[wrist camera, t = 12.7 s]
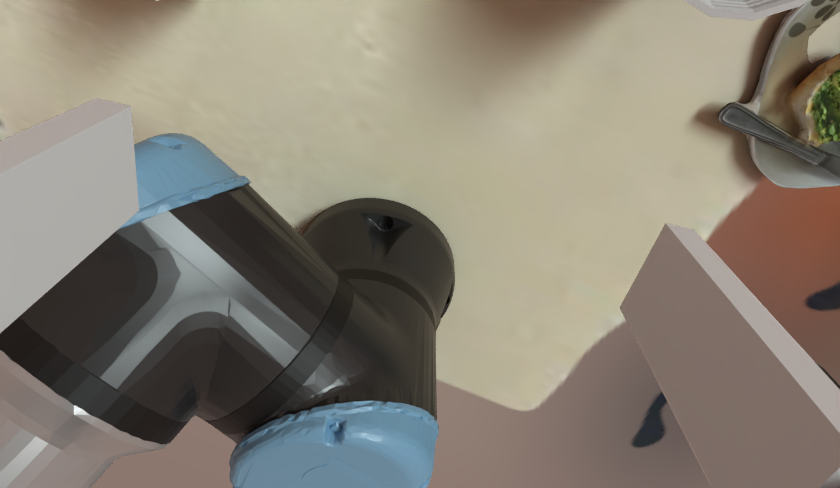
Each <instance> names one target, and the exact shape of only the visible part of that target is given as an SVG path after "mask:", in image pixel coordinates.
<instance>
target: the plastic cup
mask: <svg viewBox="0 0 840 488" xmlns="http://www.w3.org/2000/svg"><path fill="white" fill-rule="evenodd" d="M684 1H686V2H687V3H689V4H691V5H692V6H694V7H696V8H697V9H699V10H700V11H702V12H704V13H705V14H707V15H708V16H710V17H720V18H731V19H742V20H756V19H760V18H763V17H766V16H770V15H773V14H776V13H780V12H783V11H786V10H790V9H793V8H796V7H800V6H801V5H803V4H804V3H806V2H807V1H809V0H684Z"/></svg>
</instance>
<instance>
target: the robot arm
mask: <svg viewBox="0 0 840 488" xmlns="http://www.w3.org/2000/svg"><path fill="white" fill-rule="evenodd" d="M249 183H251V182H250V181H249V179H248V178H247V177H245V176H239V175H238V174H237V173H236V172H235V171H233V170H232V169H231V168H230V167H229V166H228V165H227V164H225V163H224V162H223V161H222V160H221V159H220V158H218V157H217V156H216V155H215V154H214V153H213V152H212V151H211V150H209V149H208V148H207V147H206V146H205V145H204V144H203V143H201V142H200V141H198V140H197V139H195V138H193V137H190V136H188V135H184V134H178V133H168V134H162V135H158V136H154V137H151V138H149V139H146V140H144V141H141V142H139V143H137V144H135V145H134V138H133V125H132V112H131V106H129V105H125V104H120V103H115V102H111V101H106V100H102V99H97V98H96V99H94V100H92V101H89V102H87V103H85V104H83V105H80V106H78V107H76V108H74V109H71V110H69V111H67V112H65V113H62V114H60V115H58V116H56V117H53V118H51V119H49V120H47V121H44V122H42V123H40V124H38V125H35V126H33V127H31V128H29V129H26V130H24V131H22V132H20V133H17V134H15V135H13V136H10V137H8V138H6V139H4V140H1V141H0V488H91V487H92V486H93V485H94V484H95V482H96V481H97V480H98V479H99V478H100V477H101V476H102V474H103V473H104V472H105V471H106V470H107V469H108V468H109V467H110V466H111V464H113V462H114V461H115V460H117V459H119V458H121V457H124V456H127V455H133V454H138V453H143V452H149V451H154V450H159V449H163V448H165V446H166V445H168V444H169V443H170V442H171V441H172V440H173V439H174V438H175V436H176V435H177V434H178V433H179V432H180V431H181V429H182V428H183V427H184V426H185V425H186V424H187V423H188V422H189V420H190V419H191V418H192V417H194V416H195V415H196V416H198V417H200V418H201V419H203V420H205V421H206V422H208V423H209V424H211V425H212V426H214V427H215V428H216V429H218V430H219V431H221V432H222V433H223V434H225V435H226V436H228V437H229V438H230V439H232V440H233V441H234V442H235V443H236V444H237V445H236V447H235V449H234V451H233V452H232V455H231V458H230V462H229V463H230V468H231V470H230V481H231V483H232V485H233V488H427V486H428V484H429V481H430V478H431V476H432V471H433V465H434V451H435V442H436V439H437V437H438V434H439V427H438V424H437V415H436V412H437V411H436V330H437V328H438V326H439V324H440V321H441V318H442V317H443V315H444V314H445V312H446V310H447V308H448V307H449V304H450V302H451V299H452V296H453V291H454V285H455V272H454V260H453V255H452V251H451V248H450V246H449V244H448V242H447V240H446V238H445V236H444V235H443V233H442V232H441V231H440V229H439V228H438V227H437V226H436V225H435V224H434V223H433V222H432V221H431V220H430V219H428V218H427V217H426V216H424V215H423V214H422V213H420V212H418V211H417V210H415V209H413V208H411V207H409V206H406V205H404V204H401V203H398V202H395V201H390V200H385V199H376V198H364V199H355V200H350V201H346V202H343V203H340V204H337V205H335V206H333V207H331V208H329V209H327V210H325V211H324V212H322V213H321V214H320V215H318V216H317V217H316V218H315V219H314V220H313V221H312V222H311V223H310V224H309V225H308V227H307V228H306V229H305V231H304V233H303V234H302V236H301V235H300V234H299V233H298V232H297V231H296V230H295V229H294V228H293V227H292V226H291V225H290V224H289V223H288V222H287V221H286V220H285V219H284V218H283V217H281V216H280V215H279V214H278V213H277V212H276V211H275V210H274V209H273V208H272V207H271V206H270V205H269V204H268V203H267V202H266V201H265V200H264V199H263V198H262V197H261V196H260V195H259V194H258V193H257V192H256V191H255V190H254V189H253V188H252V187H251V186H250V185H249ZM620 309H621V311H622V313H623V315H624V317H625V319H626V321H627V323H628V325H629V327H630V329H631V331H632V333H633V335H634V337H635V339H636V341H637V342H638V344H639V347H640V349H641V350H642V352H643V354H644V356H645V358H646V360H647V362H648V364H649V366H650V368H651V370H652V372H653V374H654V376H655V378H656V380H657V382H658V384H659V386H660V388H661V390H662V392H663V394H664V396H665V398H666V400H667V402H668V404H669V406H670V408H671V410H672V412H673V414H674V416H675V418H676V419H677V421H678V423H679V425H680V427H681V429H682V431H683V433H684V435H685V437H686V439H687V441H688V443H689V445H690V447H691V449H692V451H693V453H694V455H695V457H696V459H697V461H698V463H699V464H700V467H701V469H702V471H703V473H704V475H705V477H706V478H707V481H708V482H709V484H710V486H711V488H840V386H839V385H838V384H837V382H836V381H835V380H834V379H833V378H832V377H831V376H830V375H829V374H828V373H827V372H826V371H825V369H823V368H822V367H821V366H819V365H818V364H817V363H816V362H814V361H813V360H812V359H811V358H810V356H809V355H808V354H807V353H806V352H805V351H804V350H803V349H802V348H801V347H800V345H799V344H798V343H797V342H796V341H795V340H794V339H793V338H792V337H791V336H790V334H788V332H787V331H786V330H785V329H784V328H783V327H782V326H781V325H780V324H779V322H778V321H777V320H776V319H775V318H774V317H773V316H772V315H771V314H770V313H769V311H767V309H766V308H765V307H764V306H763V305H762V304H761V303H760V302H759V300H758V299H757V298H756V297H755V296H754V295H753V294H752V293H751V292H750V291H749V290H748V288H747V287H746V286H745V285H744V284H743V283H742V282H741V281H740V280H739V279H738V277H737V276H736V275H735V274H734V273H733V272H732V271H731V270H730V269H729V268H728V267H727V265H725V263H724V262H723V261H722V260H721V259H720V258H719V257H718V255H717V254H716V253H715V252H714V251H713V250H712V249H711V248H710V247H709V246H708V244H707V243H706V242H705V241H704V240H703V239H702V238H701V237H700V236H699V235H698V234H697V232H696V231H695V230H694V229H689V228H685V227H680V226H676V225H671V224H667V223H665V225H664V227H663V229H662V231H661V233H660V235H659V236H658V238H657V240H656V242H655V244H654V246H653V247H652V249H651V251H650V253H649V255H648V257H647V258H646V260H645V262H644V264H643V266H642V268H641V269H640V271H639V273H638V275H637V277H636V279H635V281H634V282H633V284H632V286H631V288H630V290H629V292H628V293H627V295H626V297H625V299H624V301H623V303H622V304H621V306H620Z"/></svg>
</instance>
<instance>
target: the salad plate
mask: <svg viewBox="0 0 840 488" xmlns="http://www.w3.org/2000/svg"><path fill="white" fill-rule="evenodd" d="M839 11H840V0H809V1H807V2H806V3H804V4H803V5H801V6H800V7H796V8H793V9H792V10H791V11H790V12H789V13H788V14H786V16H785V17H784V18H783V20H782V21H781V23H780V25H779V27H778V29H777V31H776V34H775V36H774V38H773V40H772V43H771V45H770V47H769V49H768V52H767V55H766V57H765V60H764V63H763V66H762V70H761V74H760V79H759V83H758V86H757V88H756V91H755V94H754V96H753V98H752V99H751V101H750V102H749V103H747V104H741V103H739V102H732V103H728V104H727V105H726V106H724V107H723V108H722V110H721V111H720V112H719V114H718V120H719V122H720V123H721V124H723V125H725V126H727V127H730V128H732V129H734V130H737V131H740V132H741V133H743V134H745V135H746V137H747V140H748V145H749V150H750V155H751V159H752V161H753V162H754V163H755V165H756V166H757V168H758V169H759V170H760V171H761V172H762V174H763V175H765V176H766V177H767V178H768V179H769V180H770V181H771V182H773V183H774V184H776V185H778V186H781V187H784V188H813V187H826V186H839V185H840V54H838V55H836V56H834V57H832V58H829V57H825V58H823V59H822V60H820V61H818V62H816V63H814V64H811V63H809V61H808V54H807V47H808V38H809V36H810V35H811V34H812V33H813V32H814V31H815V30H816V29H817V28H818V27H819V26H820V25H821V24H823V23H824V22H825V21H826V20H828V19H829V18H830V17H832V16H834V15H835V14H837V13H838V12H839Z"/></svg>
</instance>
